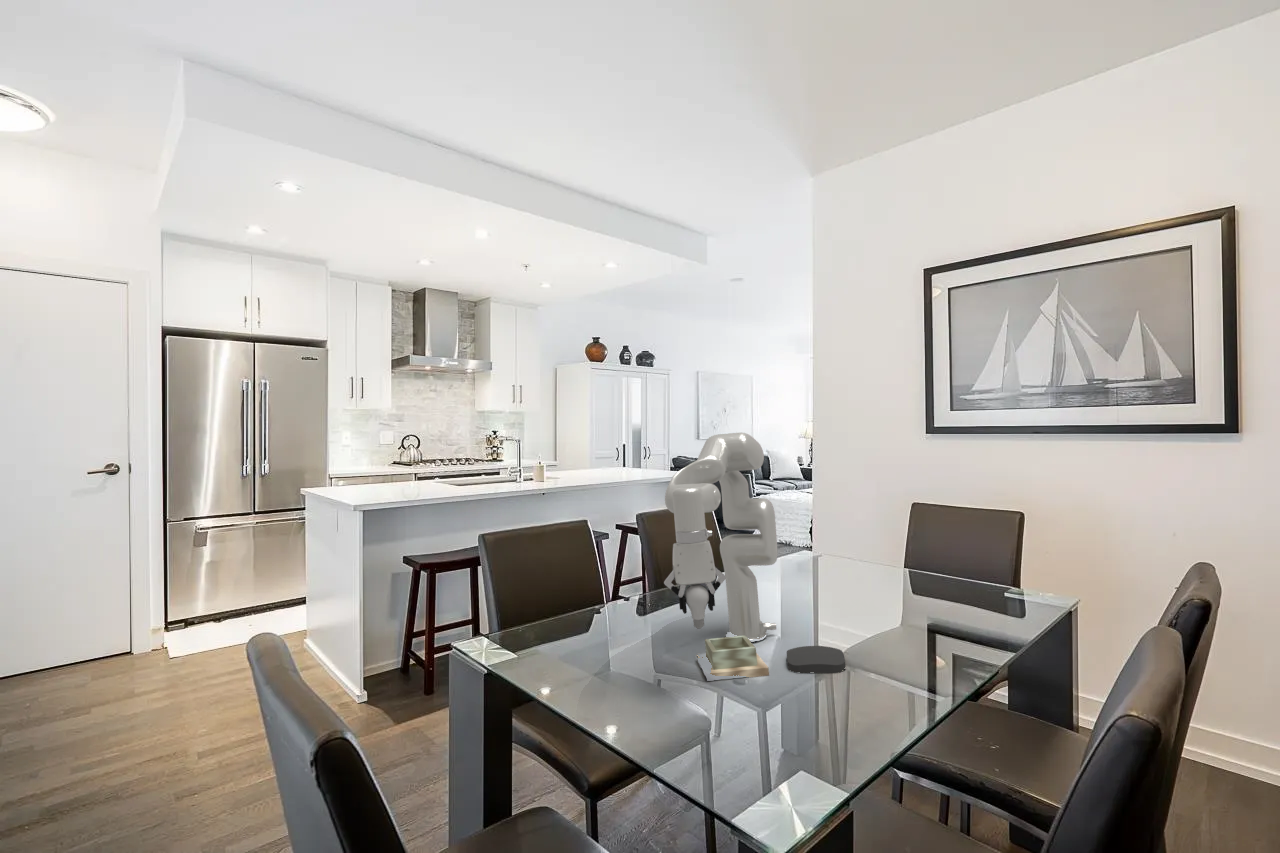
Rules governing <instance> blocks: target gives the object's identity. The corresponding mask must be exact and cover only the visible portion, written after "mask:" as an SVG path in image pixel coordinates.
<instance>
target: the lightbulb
mask: <svg viewBox="0 0 1280 853" xmlns="http://www.w3.org/2000/svg"><path fill="white" fill-rule="evenodd" d="M684 596H685V598H686V606H687V607H688V608H689V611H690V613H691V619H692V622H693V627H694V628H696V630H702V628H704V626H705V616H706V615H705V614H706V608H707V607H708V601H709V593H708V588H706V586H705V585H702V584H694V585H688V586H687V588H685V591H684Z"/></svg>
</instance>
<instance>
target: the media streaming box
mask: <svg viewBox="0 0 1280 853" xmlns="http://www.w3.org/2000/svg"><path fill="white" fill-rule="evenodd" d="M845 657H846V656H845V654H844V652H843V651H842V649H840V648H836V647H831V646H823V645H804V646H798V647H797V646H796V647H793V648H790V649H788V650H786V660H787V661H786V662H787V668H788V670H789V671H790V670H791V672H792V671H794V672H793V673H795V672H800V673H799V674H811V673H810V672H814V673H813V674H837V673H838V672H839V673H842V672H843V671H842V670H843V669H844V668H845V667H846V665H847V664H846V658H845ZM846 668H847V667H846ZM841 671H842V672H841Z"/></svg>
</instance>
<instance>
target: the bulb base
mask: <svg viewBox="0 0 1280 853" xmlns="http://www.w3.org/2000/svg"><path fill="white" fill-rule="evenodd" d="M704 643H705V645H704V647H705V653H706V657H707V658H708V660H709V662H710V663H711V665H712V668H711V673H710V674H712V675H715V676H733V675H734V676H736V675H737V676H738V675H739V676H746V677H749V678H758V677H759V678H760V677H767V676H770V670H769V669H770V668H769V666H768V665H767V664H766V663H765V661H764V660H763V658H761V656H760V655H759V654H758V653H757V647H756V646H755V645H754V643H751V641H750V640H749V639H748V638H747V637H746V636H745V635H744V636H734V637H715V638H714V637H713V638H706V639H704ZM697 656H698V655H697V654H696V657H697ZM698 658H700V657H699V656H698ZM702 658H703V657H702Z"/></svg>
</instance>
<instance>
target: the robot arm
mask: <svg viewBox="0 0 1280 853" xmlns="http://www.w3.org/2000/svg"><path fill="white" fill-rule="evenodd" d="M763 450H764V449H763V447H762V445H761V443H759V441H758V440H756V439H755V438H754V437H753V436H752V435H750V434H748V433H745V432H731V433H719V434H714V435H711V436H709V437H708V438H707V439H706V440H705V442H704V444H703V446H702V448H701V451H700V452H699V454H698V457H697V459H696V460H695V461H693V462H691V463H689V464H688V465H686V466H685V467H683V468H680V470H678V471H677V472H676V473H674V475H673V476H672V477H671V479H670V481H669V483H668V485H667V487H666V490H665V495H664V503H665V506H666V509H667V510H668V511H669V512H670V513H672V514H673V516H674V517H673V518H674V530H675V531H674V532H675V540H676V542H674V543H673V544H672V571H671V572H670V573H669V574H668V576H667V577H666V578H665V579H664V581H663V584H664V586H666V587H667V588H668V589H669V590H670V591H672V592H673V593H674V594H675V595H677V597H678V604H679V610H680V611H681V610H682V611H681V612H682V613H683V614H686V615H687V613H688V611H687V610H688V609H687V604H686V598H685V596H684V594H685V591H686V587H687V586H690V585H694V584H701V585H702V584H705V585H706V587H707V588H706V589H707V590H708V593H709V601H708V604H707V608H708V609H709V611H711V612H713V611H714V607H716V601H715V600H716V599H715V593H716V592H717V590H718V589H719V587H720V586H721V584H723V583H724V581H725V588H726V600H727V613H728V623H729V624H728V626H729V631H730V632H731V633H732V634H734V635H737V636H744V635H745V636H746V637H747V638H749V640H753V639H760V638H762V637H764V636H765V635H767V631H769V630H770V631H774V630H775V631H776V630H777V624H776V622H773V623H771V622H768V621H767V622H763V621H761V615H760V614H761V613H760V604H759V591H758V583H757V578H756V575H755V574H754V572H753V571H752V570H751V569H750V567H751V566H755V567H756V566H757V567H758V566H760V567H761V566H764V567H765V566H772V565H775V563H776V562H777V560H778V538H777V525H776V522H777V521H776V514H775V509H774V506H773V503H772V502H771V501H770V499H767V498H762V497H761V498H759V497H757V498H751V497H750V491H749V483H748V480H747V478H746V477H745V476H744V475H743V474H742V472H740V471H753V470H754V471H755V470H758V469H760V468H761V467H762V466H763V464H764V461H765V460H764V459H765V455H764V454H765V453H764V451H763ZM718 481H719V484H720V489H721V490H719V488H718V486H716V485H715V484H714V483H717V482H718ZM720 491H721V492H720ZM720 504H722V517H723V518H722V519H723V524H724V526H725V527H726V528H727V529H729V530H733V531H735V530H736V531H749V530H751V531H754V530H758V531H759V532H760V533H750V534H749V533H740V534H738V533H736V534H729V535H726V536H724V537H723V538H722V539H721V541H720V544H719V552H720V558H721V560H722V565H723V572H724V573H723V572H722V571H720V570H719V569H718V568H717V567H716V566H715V560H714V554H713V548H712V545H711V543H710V542H711V541H710V540H708V538H709V537H712V536H713V531H712V530H708V529H707V525H706V516H705V513H706V514H707V513H712V512H714V511H716V510H718V508H719V506H720ZM673 581H675V584H676V585H678V586H676V585H674V584H673V583H672V582H673ZM757 637H759V638H757Z"/></svg>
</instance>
